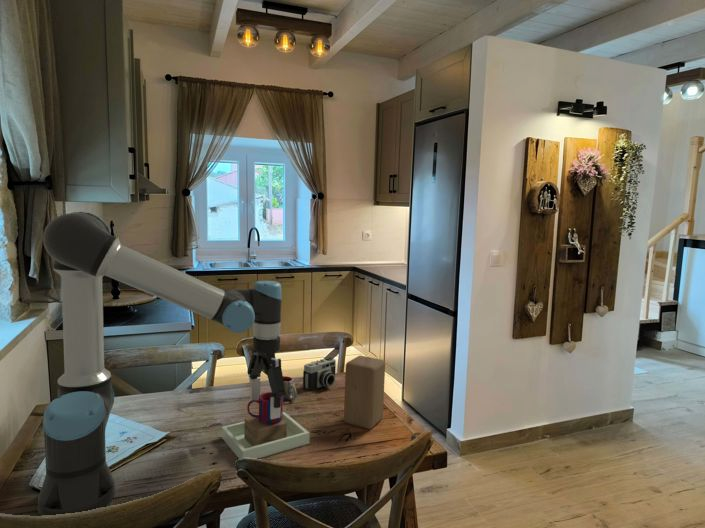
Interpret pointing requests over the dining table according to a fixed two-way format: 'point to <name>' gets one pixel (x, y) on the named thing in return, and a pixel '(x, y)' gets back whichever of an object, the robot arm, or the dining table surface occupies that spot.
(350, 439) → the dining table surface
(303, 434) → the tray
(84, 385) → the robot arm
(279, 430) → the walnut block
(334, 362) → the camera
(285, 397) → the mug
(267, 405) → the cup
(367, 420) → the wooden block
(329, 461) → the dining table surface
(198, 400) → the dining table surface
